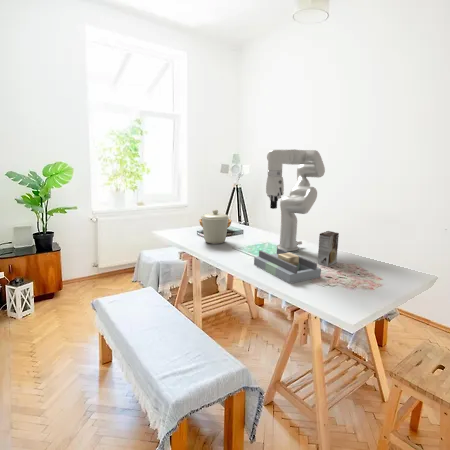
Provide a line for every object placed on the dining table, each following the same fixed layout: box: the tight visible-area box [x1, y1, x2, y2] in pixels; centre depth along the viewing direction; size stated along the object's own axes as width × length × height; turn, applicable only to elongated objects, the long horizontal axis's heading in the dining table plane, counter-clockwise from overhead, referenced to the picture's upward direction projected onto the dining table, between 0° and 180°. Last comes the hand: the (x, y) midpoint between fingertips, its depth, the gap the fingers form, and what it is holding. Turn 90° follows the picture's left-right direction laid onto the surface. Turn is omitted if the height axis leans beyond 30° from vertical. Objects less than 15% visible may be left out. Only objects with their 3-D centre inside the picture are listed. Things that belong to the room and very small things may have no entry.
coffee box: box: [316, 230, 339, 267], centre depth 166 cm, size 9×6×16 cm
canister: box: [200, 209, 231, 245], centre depth 205 cm, size 18×18×21 cm
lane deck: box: [253, 247, 322, 284], centre depth 155 cm, size 18×28×7 cm, turn 28°
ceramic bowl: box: [198, 218, 232, 229], centre depth 239 cm, size 30×24×8 cm
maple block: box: [278, 252, 300, 265], centre depth 153 cm, size 7×7×4 cm
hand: (273, 208), depth 173 cm, fingers closed
